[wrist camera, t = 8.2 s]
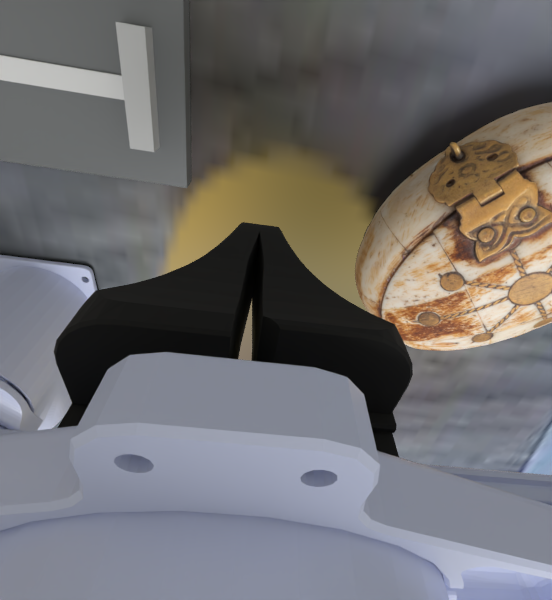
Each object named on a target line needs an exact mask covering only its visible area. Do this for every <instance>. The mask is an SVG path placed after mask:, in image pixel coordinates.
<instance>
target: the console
mask: <svg viewBox="0 0 552 600" xmlns="http://www.w3.org/2000/svg"><path fill="white" fill-rule="evenodd" d="M0 161H5V162H12V163H19V164H25V165H32V166H39V167H46V168H53V169H60V170H67V171H74V172H80V173H87V174H94V175H101V176H108V177H115V178H122V179H129V180H135V181H142V182H149V183H156V184H163V185H170V186H177V187H184V188H187V187H188V186H189V184H190V182H191V103H190V12H189V0H0Z"/></svg>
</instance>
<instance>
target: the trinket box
mask: <svg viewBox="0 0 552 600" xmlns="http://www.w3.org/2000/svg"><path fill="white" fill-rule="evenodd" d="M355 280H356V285H357V289H358V293H359V295H360V298H361V300H362V302H363V304H364V306H365V307H366V309H367V310H368V312H369V313H371V314H373V315H375V316H378V317H380V318H382V319H384V320H386V321H389V322H391V323H393V324H395V326H396V328H397V329H398V331H399V333H400V335H401V337H402V339H403V342H404V344H406V345H408V346H410V347H413V348H417V349H424V350H438V351H445V350H458V349H466V348H472V347H478V346H483V345H488V344H491V343H495V342H499V341H502V340H506V339H509V338H514V337H517V336H520V335H522V334H524V333H526V332H529V331H531V330H534V329H537V328H539V327H542V326H544V325H547V324H549V323H551V322H552V102H550V103H544V104H540V105H536V106H532V107H528V108H525V109H521V110H518V111H516V112H513V113H511V114H508V115H506V116H503V117H501V118H499V119H497V120H495V121H493V122H491V123H489V124H487V125H485V126H483V127H481V128H480V129H478V130H476V131H475V132H473V133H471V134H470V135H468V136H467V137H465V138H463V139H462V140H460V141H459V142H457V143H455V142H451V143H450V146H449V147H447V149H446V150H445V151H443V152H441V153H439V154H438V155H437V156H435V157H434V158H432V159H431V160H429V161H428V162H427V163H425V164H424V165H423V166H421V167H420V168H419V169H418V170H416V171H415V172H414V173H413V174H411V175H410V176H409V177H408V178H407V179H405V180H404V181H403V182H402V183H401V184H400V185H399V186H398V187H397V188H396V189H395V190H394V191H393V192H392V193H391V194H390V196H389V197H388V198H387V199H386V200H385V202H384V203H383V204H382V206H381V207H380V208H379V210H378V211H377V213H376V214H375V216H374V217H373V219H372V221H371V223H370V224H369V226H368V227H367V229H366V232H365V234H364V237H363V241H362V243H361V245H360V248H359V251H358V255H357V260H356V265H355Z"/></svg>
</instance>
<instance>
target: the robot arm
mask: <svg viewBox="0 0 552 600" xmlns="http://www.w3.org/2000/svg"><path fill="white" fill-rule="evenodd" d="M85 277H87V278H88V279H89V280H88V279H86V278H85ZM251 300H252V361H250V360H240V359H238V356H239V351H240V345H241V341H242V337H243V333H244V329H245V325H246V321H247V317H248V313H249V309H250V305H251ZM412 375H413V373H412V362H411V359H410V357H409V354H408V352H407V349H406V346H405V344H404V342H403V339H402V337H401V335H400V333H399V331H398V329H397V328H396V326H395V324H393V323H391V322H389V321H386V320H384V319H382V318H380V317H378V316H375V315H373V314H371V313H369V312H367V311H364V310H363V309H361V308H359V307H357V306H356V305H354V304H352V303H350V302H349V301H347V300H345V299H344V298H342V297H341V296H339V295H338V294H336V293H335V292H334V291H332V290H331V289H330V288H328V287H327V286H326V285H324V284H323V283H322V282H321V281H320V280H318V278H316V277H315V276H314V275H313V274H312V273H311V272H310V271H309V270H308V269H307V268H306V267H305V266H304V264H303V263H302V262H301V261H300V260H299V258H298V257H297V256H296V254H295V253H294V251H293V250H292V249H291V247H290V245H289V244H288V242H287V241H286V239H285V237H284V235H283V233H282V231H281V230H280V228H279V227H274V226H267V225H259V224H252V223H244V222H243V223H241V224H240V225H239V226H238V227H237V228H236V229H235V230H234V231H233V232H232V233H231V234H230V235H229V236H228V237H227V238H226V239H225V240H224V241H222V242H221V243H220V244H219V245H218V246H217V247H215V248H214V249H213V250H211V251H210V252H209V253H207V254H206V255H204V256H203V257H201V258H200V259H198V260H196V261H194V262H192V263H190V264H188V265H186V266H184V267H181V268H179V269H177V270H174V271H172V272H169V273H167V274H164V275H162V276H158V277H155V278H152V279H149V280H145V281H141V282H138V283H133V284H129V285H124V286H118V287H113V288H107V289H102V290H97V286H96V282H95V277H94V273H93V270H92V269H91V268H90V267H88V266H85V265H78V264H70V263H62V262H54V261H46V260H38V259H30V258H22V257H14V256H6V255H0V600H552V475H541V474H530V473H518V472H506V471H494V470H482V469H470V468H458V467H447V466H435V465H423V464H418V463H415V462H412V461H409V460H405V459H402V458H399V456H398V452H397V449H396V445H395V441H394V438H393V434H392V433H394V432H395V430H396V422H395V419H394V416H393V410H394V409H395V407H396V405H397V404H398V402H399V400H400V399H401V397H402V395H403V394H404V392H405V390H406V389H407V387H408V385H409V383H410V380H411V377H412ZM63 417H64V418H63ZM62 418H63V420H62V421H61V423H60V425H59V426H58V428H53V427H54V426H55V425H56V424H57V423H58V422H59V421H60V420H61V419H62ZM51 428H53V429H51Z"/></svg>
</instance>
